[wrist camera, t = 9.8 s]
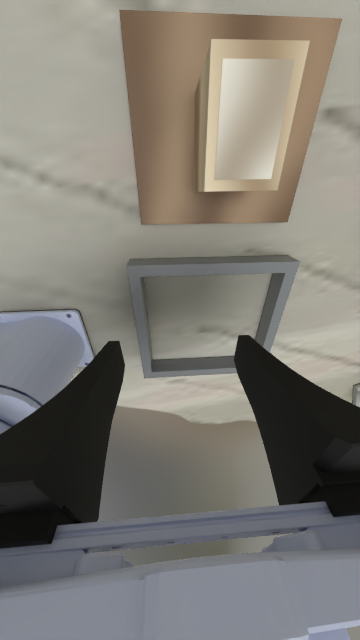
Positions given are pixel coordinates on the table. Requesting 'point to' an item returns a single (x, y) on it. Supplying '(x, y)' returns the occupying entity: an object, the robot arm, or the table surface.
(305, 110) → the walnut board
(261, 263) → the grey bin
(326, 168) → the table surface
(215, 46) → the maple block
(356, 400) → the handheld gaming console
